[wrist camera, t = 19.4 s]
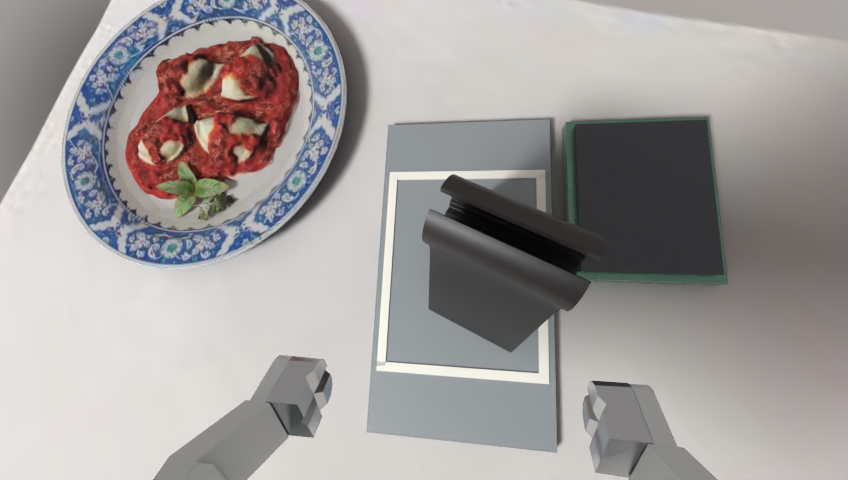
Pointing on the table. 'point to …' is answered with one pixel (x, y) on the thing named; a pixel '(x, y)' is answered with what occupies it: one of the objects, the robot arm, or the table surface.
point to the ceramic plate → (203, 129)
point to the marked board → (437, 336)
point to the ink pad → (646, 199)
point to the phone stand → (503, 263)
